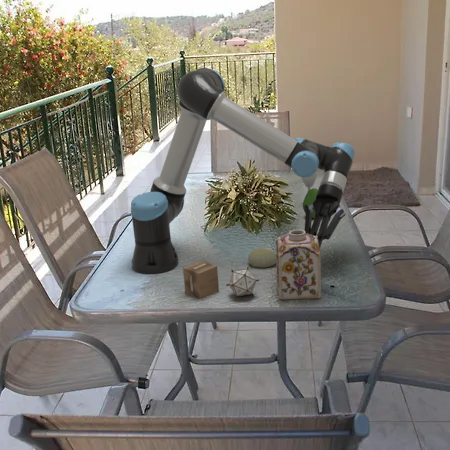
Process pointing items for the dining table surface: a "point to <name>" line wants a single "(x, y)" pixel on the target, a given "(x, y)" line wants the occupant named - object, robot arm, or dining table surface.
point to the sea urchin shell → (262, 257)
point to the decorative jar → (298, 266)
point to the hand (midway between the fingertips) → (309, 258)
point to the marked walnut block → (201, 279)
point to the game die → (242, 282)
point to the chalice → (309, 180)
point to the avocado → (310, 199)
